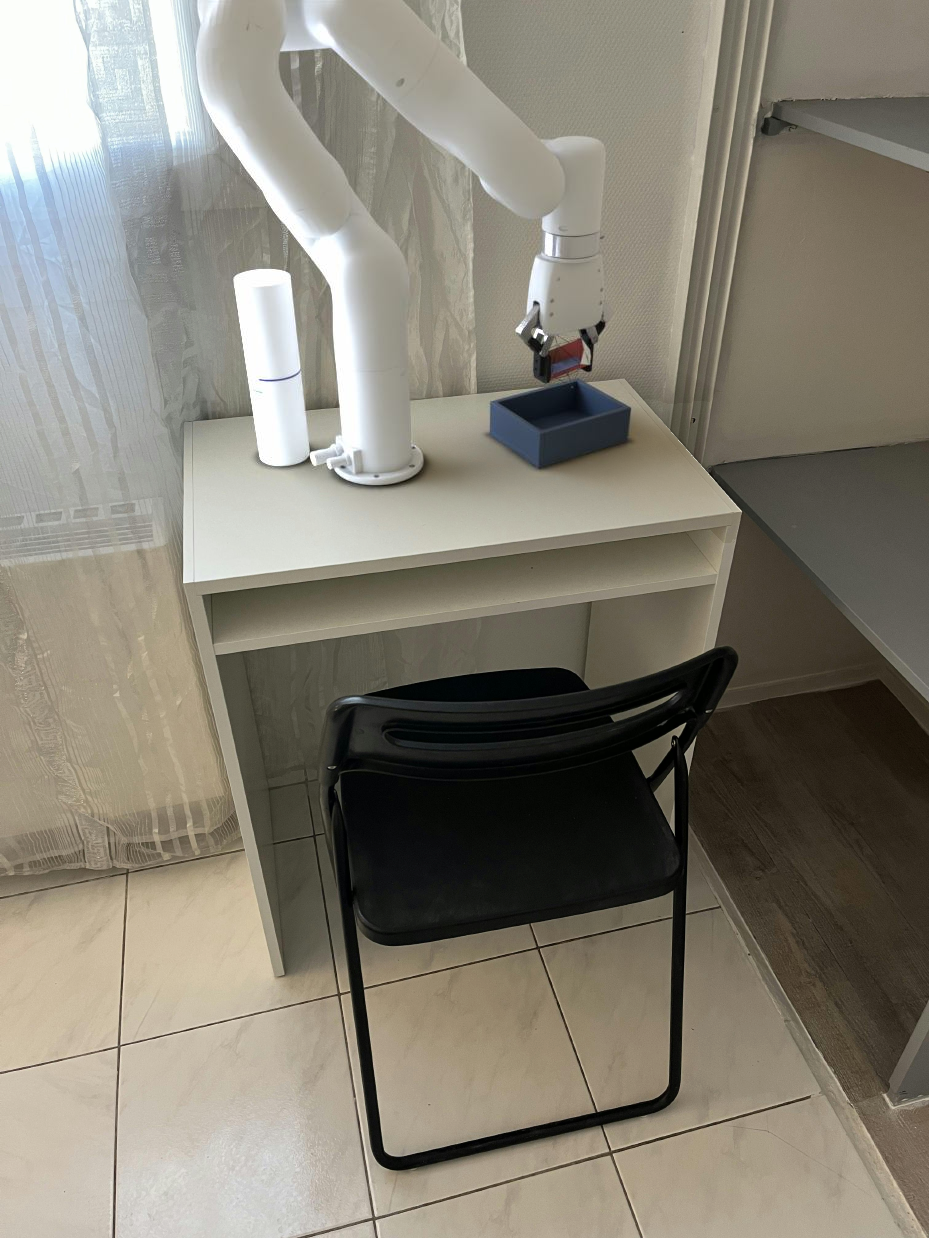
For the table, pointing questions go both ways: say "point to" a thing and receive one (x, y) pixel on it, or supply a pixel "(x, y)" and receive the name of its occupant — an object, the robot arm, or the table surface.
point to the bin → (559, 422)
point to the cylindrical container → (273, 365)
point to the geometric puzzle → (569, 358)
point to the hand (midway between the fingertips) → (562, 373)
